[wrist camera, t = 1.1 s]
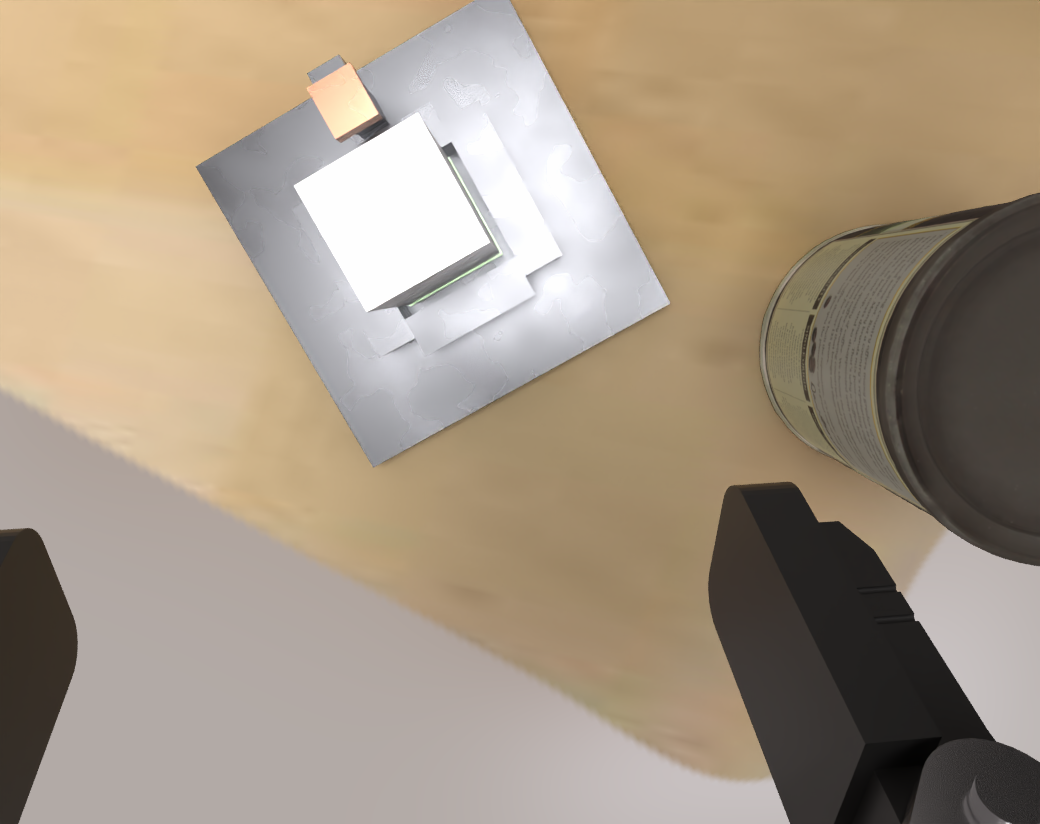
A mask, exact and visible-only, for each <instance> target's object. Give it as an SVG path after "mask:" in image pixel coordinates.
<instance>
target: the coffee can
mask: <svg viewBox="0 0 1040 824" xmlns="http://www.w3.org/2000/svg"><path fill="white" fill-rule="evenodd" d="M760 368H761V372H762V376H763V381H764V384H765V388H766V391H767V393H768V396H769V398H770V400H771V402H772V405H773V407H774V409H775V411H776V413H777V414H778V415H779V416H780V418H781V419H782V420H783V422H784V423H785V424H786V426H787V427H788V428H789V429H790V430H791V431H792V432H793V433H794V434H795V435H796V436H797V437H798V438H799V439H800V440H802V441H803V442H804V443H806V444H807V445H808V446H810V447H811V448H813V449H814V450H816V451H818V452H820V453H822V454H824V455H826V456H829V457H831V458H833V459H835V460H837V461H839V462H840V463H842V464H844V465H845V466H847V467H849V468H851V469H853V470H854V471H856V472H858V473H859V474H861V475H863V476H864V477H866V478H868V479H870V480H872V481H873V482H875V483H877V484H879V485H881V486H882V487H884V488H885V489H887V490H889V491H890V492H892V493H893V494H895V495H897V496H899V497H901V498H902V499H904V500H906V501H907V502H909V503H911V504H913V505H914V506H916V507H917V508H919V509H920V510H923V511H925V512H927V513H928V514H930V515H932V516H933V517H934V518H935V519H936V520H937V521H939V522H940V523H941V524H942V525H943V526H945V527H946V528H947V529H948V530H950V531H951V532H953V533H954V534H956V535H957V536H959V537H961V538H962V539H964V540H965V541H967V542H969V543H970V544H972V545H974V546H976V547H978V548H980V549H982V550H985V551H987V552H989V553H991V554H993V555H996V556H999V557H1002V558H1005V559H1008V560H1012V561H1016V562H1019V563H1024V564H1030V565H1034V566H1040V193H1036V194H1032V195H1029V196H1026V197H1023V198H1020V199H1018V200H1015V201H1012V202H1009V203H1004V204H998V205H993V206H986V207H981V208H976V209H970V210H965V211H959V212H954V213H950V214H944V215H939V216H933V217H927V218H922V219H916V220H910V221H903V222H897V223H892V224H882V225H872V226H865V227H860V228H856V229H853V230H850V231H847V232H844V233H842V234H839V235H837V236H834V237H832V238H830V239H828V240H826V241H824V242H823V243H821V244H819V245H818V246H816V247H815V248H813V249H812V250H811V251H810V252H808V253H807V254H806V255H805V256H804V257H803V258H801V259H800V260H799V261H798V262H797V263H796V264H795V265H794V266H793V267H792V269H791V270H790V271H789V272H788V273H787V275H786V276H785V277H784V279H783V280H782V282H781V283H780V285H779V286H778V288H777V290H776V291H775V293H774V295H773V297H772V299H771V301H770V304H769V306H768V308H767V311H766V313H765V316H764V320H763V324H762V331H761V339H760Z"/></svg>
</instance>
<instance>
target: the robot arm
mask: <svg viewBox="0 0 1040 824" xmlns="http://www.w3.org/2000/svg"><path fill="white" fill-rule="evenodd" d="M708 591H709V603H710V609H711V614H712V618H713V622H714V625H715V628H716V631H717V633H718V636H719V638H720V641H721V644H722V646H723V649H724V652H725V654H726V657H727V659H728V662H729V665H730V667H731V670H732V672H733V675H734V678H735V680H736V683H737V686H738V688H739V691H740V693H741V696H742V699H743V701H744V704H745V707H746V709H747V712H748V714H749V717H750V720H751V722H752V725H753V727H754V730H755V733H756V735H757V738H758V741H759V743H760V746H761V748H762V751H763V754H764V756H765V759H766V762H767V764H768V767H769V769H770V772H771V775H772V777H773V780H774V782H775V785H776V788H777V790H778V793H779V796H780V798H781V800H782V803H783V806H784V809H785V811H786V814H787V817H788V819H789V822H790V824H1040V762H1038V761H1036V760H1035V759H1033V758H1032V757H1030V756H1028V755H1027V754H1025V753H1023V752H1021V751H1019V750H1017V749H1015V748H1013V747H1010V746H1007V745H1004V744H1002V743H999V742H996V741H995V739H994V738H993V737H992V735H991V734H990V733H989V731H988V730H987V729H986V727H985V725H984V724H983V722H982V720H981V719H980V717H979V716H978V714H977V712H976V711H975V709H974V708H973V706H972V704H971V703H970V701H969V700H968V698H967V697H966V695H965V693H964V692H963V691H962V689H961V687H960V685H959V684H958V683H957V681H956V679H955V678H954V676H953V674H952V673H951V671H950V670H949V668H948V667H947V665H946V663H945V662H944V660H943V659H942V657H941V655H940V654H939V652H938V651H937V649H936V647H935V646H934V645H933V643H932V641H931V640H930V638H929V636H928V635H927V633H926V632H925V630H924V628H923V627H922V625H921V624H920V622H919V621H915V619H914V613H913V611H912V609H911V608H910V606H909V605H908V603H907V601H906V600H905V598H904V597H903V595H902V594H901V592H897V591H896V584H895V582H894V581H893V579H892V578H891V576H890V575H889V573H888V571H887V570H886V568H885V567H884V565H883V563H882V562H881V560H880V559H879V557H878V556H877V554H876V552H875V551H874V550H873V549H872V548H871V547H870V546H868V545H867V544H866V543H865V542H864V541H862V540H861V539H860V538H859V537H857V536H856V535H855V534H854V533H852V532H851V531H850V530H849V529H848V528H846V527H845V526H844V525H843V524H841V523H840V522H839V521H835V522H820V523H819V522H818V521H817V519H816V517H815V516H814V514H813V512H812V510H811V509H810V507H809V505H808V503H807V502H806V500H805V498H804V497H803V495H802V493H801V491H800V490H799V488H798V487H797V486H796V485H795V484H793V483H792V482H780V483H764V484H749V485H733V486H730V487H729V488H728V489H727V491H726V493H725V495H724V499H723V504H722V509H721V515H720V520H719V525H718V530H717V536H716V541H715V546H714V551H713V556H712V562H711V567H710V572H709V582H708ZM77 644H78V641H77V630H76V624H75V621H74V618H73V615H72V613H71V610H70V607H69V605H68V602H67V600H66V597H65V595H64V592H63V590H62V587H61V585H60V582H59V580H58V577H57V575H56V572H55V570H54V568H53V565H52V563H51V560H50V558H49V555H48V553H47V550H46V548H45V545H44V543H43V541H42V539H41V537H40V535H39V534H38V533H37V532H36V531H35V530H33V529H30V528H25V529H8V530H0V824H18V823H19V820H20V817H21V815H22V812H23V809H24V807H25V804H26V801H27V798H28V796H29V793H30V790H31V787H32V785H33V782H34V779H35V777H36V774H37V771H38V769H39V765H40V763H41V760H42V757H43V755H44V752H45V750H46V747H47V744H48V741H49V739H50V736H51V733H52V731H53V728H54V725H55V722H56V720H57V717H58V714H59V712H60V709H61V706H62V703H63V701H64V698H65V695H66V692H67V690H68V687H69V684H70V682H71V679H72V676H73V673H74V669H75V665H76V658H77Z"/></svg>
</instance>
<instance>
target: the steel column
mask: <svg viewBox="0 0 1040 824" xmlns="http://www.w3.org/2000/svg"><path fill="white" fill-rule="evenodd" d="M294 187H295V189H296V191H297V192H298V194H299V196H300V197H301V199H302V201H303V203H304V204H305V206H306V208H307V210H308V211H309V213H310V215H311V217H312V218H313V220H314V222H315V223H316V225H317V227H318V229H319V230H320V232H321V234H322V236H323V237H324V239H325V241H326V243H327V244H328V246H329V248H330V249H331V251H332V253H333V255H334V256H335V258H336V260H337V262H338V263H339V265H340V267H341V269H342V270H343V272H344V274H345V275H346V277H347V279H348V281H349V282H350V284H351V286H352V288H353V289H354V291H355V293H356V294H357V296H358V298H359V300H360V301H361V303H362V305H363V307H364V308H365V310H366V312H371V311H376V310H382V309H388V308H394V307H400V306H406V305H409V306H414V305H415V304H417V303H419V302H421V301H422V300H424V299H426V298H428V297H429V296H431V295H433V294H435V293H437V292H438V291H440V290H442V289H444V288H445V287H447V286H449V285H451V284H452V283H454V282H456V281H458V280H459V279H461V278H463V277H465V276H467V275H468V274H470V273H472V272H474V271H475V270H477V269H479V268H481V267H482V266H484V265H486V264H488V263H489V262H491V261H493V260H495V259H496V258H498V257H500V256H502V255H503V253H502V251H501V249H500V248H499V246H498V244H497V242H496V240H495V239H494V237H493V235H492V233H491V231H490V230H489V228H488V226H487V224H486V222H485V220H484V219H483V217H482V215H481V213H480V211H479V210H478V208H477V206H476V204H475V202H474V200H473V199H472V197H471V195H470V193H469V191H468V190H467V188H466V186H465V184H464V182H463V181H462V179H461V177H460V175H459V173H458V171H457V170H456V168H455V166H454V164H453V162H452V161H451V159H450V157H449V158H448V157H447V156H446V154H445V153H444V151H443V150H442V148H441V146H440V145H439V143H438V142H437V140H436V139H435V137H434V136H433V134H432V133H431V131H430V130H429V128H428V127H427V125H426V124H425V122H424V121H423V119H422V118H421V116H420V115H419V113H416V114H415V115H413V116H411V117H410V118H408V119H406V120H405V121H403V122H401V123H399V124H398V125H396V126H394V127H393V128H391V129H389V130H388V131H386V132H384V133H382V134H381V135H379V136H377V137H376V138H374V139H372V140H371V141H369V142H367V143H365V144H364V145H362V146H360V147H359V148H357V149H355V150H353V151H352V152H350V153H348V154H347V155H345V156H343V157H342V158H340V159H338V160H336V161H335V162H333V163H331V164H330V165H328V166H326V167H325V168H323V169H321V170H319V171H318V172H316V173H314V174H313V175H311V176H309V177H308V178H306V179H304V180H302V181H301V182H299V183H297V184H296V185H294Z"/></svg>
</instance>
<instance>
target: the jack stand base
mask: <svg viewBox="0 0 1040 824" xmlns="http://www.w3.org/2000/svg"><path fill="white" fill-rule="evenodd" d="M307 74H308V76H309V78H310V80H311V81H312V83H313V85H311V86H309V87H308V88H307V90H308V91H309V93H310V95H311V97H312V98H310V99H308V100H307V101H305V102H303V103H302V104H300V105H298V106H297V107H295V108H293V109H292V110H290V111H288V112H287V113H285V114H283V115H282V116H280V117H278V118H277V119H275V120H273V121H272V122H270V123H268V124H266V125H265V126H263V127H261V128H260V129H258V130H256V131H255V132H253V133H251V134H250V135H248V136H246V137H245V138H243V139H241V140H240V141H238V142H236V143H235V144H233V145H231V146H230V147H228V148H226V149H225V150H223V151H221V152H219V153H218V154H216V155H214V156H213V157H211V158H209V159H208V160H206V161H204V162H203V163H201V164H199V165H198V166H196V168H197V170H198V171H199V173H200V175H201V176H202V178H203V180H204V181H205V183H206V185H207V187H208V188H209V190H210V192H211V193H212V195H213V197H214V198H215V200H216V202H217V203H218V205H219V207H220V209H221V210H222V212H223V214H224V215H225V217H226V219H227V220H228V222H229V224H230V226H231V227H232V229H233V231H234V232H235V234H236V236H237V237H238V239H239V241H240V242H241V244H242V246H243V248H244V249H245V251H246V253H247V254H248V256H249V258H250V259H251V261H252V263H253V264H254V266H255V268H256V270H257V271H258V273H259V275H260V276H261V278H262V280H263V281H264V283H265V285H266V286H267V288H268V290H269V292H270V293H271V295H272V297H273V298H274V300H275V302H276V303H277V305H278V307H279V309H280V310H281V312H282V314H283V315H284V317H285V319H286V320H287V322H288V324H289V325H290V327H291V329H292V331H293V332H294V334H295V336H296V337H297V339H298V341H299V342H300V344H301V346H302V347H303V349H304V351H305V353H306V354H307V356H308V358H309V359H310V361H311V363H312V364H313V366H314V368H315V369H316V371H317V373H318V375H319V376H320V378H321V380H322V381H323V383H324V385H325V386H326V388H327V390H328V392H329V393H330V395H331V397H332V398H333V400H334V402H335V403H336V405H337V407H338V408H339V410H340V412H341V414H342V415H343V417H344V419H345V420H346V422H347V424H348V425H349V427H350V429H351V430H352V432H353V434H354V436H355V437H356V439H357V441H358V442H359V444H360V446H361V447H362V449H363V451H364V452H365V454H366V456H367V458H368V459H369V461H370V463H371V464H372V466H373V467H375V466H377V465H379V464H381V463H382V462H384V461H386V460H388V459H390V458H391V457H393V456H395V455H397V454H399V453H400V452H402V451H404V450H406V449H408V448H410V447H411V446H413V445H415V444H417V443H419V442H420V441H422V440H424V439H426V438H428V437H429V436H431V435H433V434H435V433H437V432H438V431H440V430H442V429H444V428H446V427H448V426H449V425H451V424H453V423H455V422H457V421H458V420H460V419H462V418H464V417H466V416H467V415H469V414H471V413H473V412H475V411H477V410H478V409H480V408H482V407H484V406H486V405H487V404H489V403H491V402H493V401H495V400H496V399H498V398H500V397H502V396H504V395H505V394H507V393H509V392H511V391H513V390H515V389H516V388H518V387H520V386H522V385H524V384H525V383H527V382H529V381H531V380H533V379H534V378H536V377H538V376H540V375H542V374H544V373H545V372H547V371H549V370H551V369H553V368H554V367H556V366H558V365H560V364H562V363H563V362H565V361H567V360H569V359H571V358H572V357H574V356H576V355H578V354H580V353H582V352H583V351H585V350H587V349H589V348H591V347H592V346H594V345H596V344H598V343H600V342H601V341H603V340H605V339H607V338H609V337H611V336H612V335H614V334H616V333H618V332H620V331H621V330H623V329H625V328H627V327H629V326H630V325H632V324H634V323H636V322H638V321H639V320H641V319H643V318H645V317H647V316H649V315H650V314H652V313H654V312H656V311H658V310H659V309H661V308H663V307H665V306H667V305H668V304H670V302H669V300H668V298H667V296H666V294H665V292H664V290H663V288H662V287H661V285H660V283H659V281H658V279H657V277H656V275H655V273H654V271H653V270H652V268H651V266H650V264H649V262H648V260H647V258H646V256H645V254H644V253H643V251H642V249H641V247H640V245H639V243H638V241H637V239H636V237H635V236H634V234H633V232H632V230H631V228H630V226H629V224H628V222H627V221H626V219H625V217H624V215H623V213H622V211H621V209H620V207H619V205H618V204H617V202H616V200H615V198H614V196H613V194H612V192H611V190H610V188H609V187H608V185H607V183H606V181H605V179H604V177H603V175H602V173H601V171H600V170H599V168H598V166H597V164H596V162H595V160H594V158H593V156H592V154H591V153H590V151H589V149H588V147H587V145H586V143H585V141H584V139H583V137H582V136H581V134H580V132H579V130H578V128H577V126H576V124H575V122H574V120H573V119H572V117H571V115H570V113H569V111H568V109H567V107H566V105H565V104H564V102H563V100H562V98H561V96H560V94H559V92H558V90H557V88H556V87H555V85H554V83H553V81H552V79H551V77H550V75H549V73H548V71H547V70H546V68H545V66H544V64H543V62H542V60H541V58H540V56H539V54H538V53H537V51H536V49H535V47H534V45H533V43H532V41H531V39H530V37H529V36H528V34H527V32H526V30H525V28H524V26H523V24H522V22H521V20H520V19H519V17H518V15H517V13H516V11H515V9H514V7H513V5H512V3H511V2H510V0H475V1H473V2H471V3H470V4H468V5H466V6H465V7H463V8H461V9H459V10H458V11H456V12H454V13H453V14H451V15H449V16H448V17H446V18H444V19H443V20H441V21H439V22H438V23H436V24H434V25H433V26H431V27H429V28H428V29H426V30H424V31H423V32H421V33H419V34H418V35H416V36H414V37H412V38H411V39H409V40H407V41H406V42H404V43H402V44H401V45H399V46H397V47H396V48H394V49H392V50H391V51H389V52H387V53H386V54H384V55H382V56H381V57H379V58H377V59H376V60H374V61H372V62H371V63H369V64H367V65H365V66H364V67H362V68H360V69H359V70H357V71H356V70H355V68H354V67H353V66H352V65H351V63H348V64H347V63H346V62H345V61H344V60H343V59H342V57H341V56H340V55H337V56H336V57H334V58H332V59H331V60H329V61H327V62H326V63H324V64H322V65H321V66H319V67H317V68H316V69H314V70H312V71H311V72H309V73H307ZM416 113H419V115H420V116H421V118H422V119H423V121H424V122H425V124H426V125H427V127H428V128H429V130H430V131H431V133H432V134H433V136H434V137H435V139H436V140H437V142H438V143H439V145H440V146H441V148H442V150H443V151H444V153H445V154H446V156H447V157H448V158H449V157H450V159H451V161H452V162H453V164H454V166H455V168H456V170H457V171H458V173H459V175H460V177H461V179H462V181H463V182H464V184H465V186H466V188H467V190H468V191H469V193H470V195H471V197H472V199H473V200H474V202H475V204H476V206H477V208H478V210H479V211H480V213H481V215H482V217H483V219H484V220H485V222H486V224H487V226H488V228H489V230H490V231H491V233H492V235H493V237H494V239H495V240H496V242H497V244H498V246H499V248H500V249H501V251H502V253H503V255H502V256H500V257H498V258H496V259H495V260H493V261H491V262H489V263H488V264H486V265H484V266H482V267H481V268H479V269H477V270H475V271H474V272H472V273H470V274H468V275H467V276H465V277H463V278H461V279H459V280H458V281H456V282H454V283H452V284H451V285H449V286H447V287H445V288H444V289H442V290H440V291H438V292H437V293H435V294H433V295H431V296H429V297H428V298H426V299H424V300H422V301H421V302H419V303H417V304H415V305H414V306H409V305H406V306H400V307H394V308H388V309H382V310H376V311H371V312H366V310H365V308H364V307H363V305H362V303H361V301H360V300H359V298H358V296H357V294H356V293H355V291H354V289H353V288H352V286H351V284H350V282H349V281H348V279H347V277H346V275H345V274H344V272H343V270H342V269H341V267H340V265H339V263H338V262H337V260H336V258H335V256H334V255H333V253H332V251H331V249H330V248H329V246H328V244H327V243H326V241H325V239H324V237H323V236H322V234H321V232H320V230H319V229H318V227H317V225H316V223H315V222H314V220H313V218H312V217H311V215H310V213H309V211H308V210H307V208H306V206H305V204H304V203H303V201H302V199H301V197H300V196H299V194H298V192H297V191H296V189H295V187H294V185H296V184H297V183H299V182H301V181H302V180H304V179H306V178H308V177H309V176H311V175H313V174H314V173H316V172H318V171H319V170H321V169H323V168H325V167H326V166H328V165H330V164H331V163H333V162H335V161H336V160H338V159H340V158H342V157H343V156H345V155H347V154H348V153H350V152H352V151H353V150H355V149H357V148H359V147H360V146H362V145H364V144H365V143H367V142H369V141H371V140H372V139H374V138H376V137H377V136H379V135H381V134H382V133H384V132H386V131H388V130H389V129H391V128H393V127H394V126H396V125H398V124H399V123H401V122H403V121H405V120H406V119H408V118H410V117H411V116H413V115H415V114H416Z"/></svg>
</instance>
